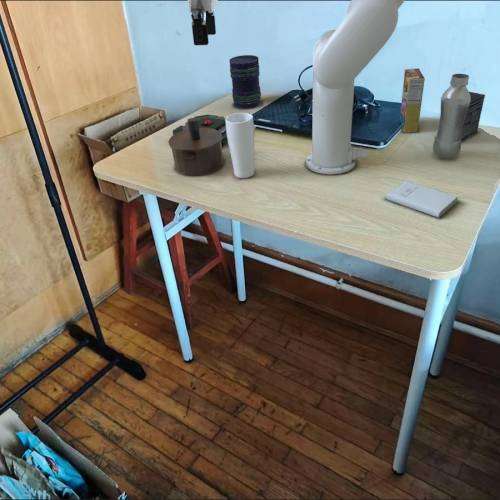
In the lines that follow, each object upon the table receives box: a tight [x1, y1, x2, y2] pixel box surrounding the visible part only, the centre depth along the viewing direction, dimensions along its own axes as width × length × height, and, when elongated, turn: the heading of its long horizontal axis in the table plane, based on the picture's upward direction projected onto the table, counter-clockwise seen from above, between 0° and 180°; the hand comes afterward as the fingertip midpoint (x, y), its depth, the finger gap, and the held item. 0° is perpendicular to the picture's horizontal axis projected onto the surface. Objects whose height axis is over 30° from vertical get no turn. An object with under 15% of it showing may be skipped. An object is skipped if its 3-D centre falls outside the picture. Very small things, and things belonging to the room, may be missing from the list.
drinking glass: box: [225, 112, 256, 179], centre depth 112 cm, size 7×7×15 cm
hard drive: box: [385, 180, 459, 218], centre depth 100 cm, size 2×8×12 cm
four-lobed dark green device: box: [171, 113, 228, 144], centre depth 138 cm, size 18×18×5 cm
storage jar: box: [228, 54, 262, 110], centre depth 154 cm, size 10×10×15 cm
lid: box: [168, 117, 222, 152], centre depth 117 cm, size 14×14×6 cm
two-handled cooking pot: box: [171, 142, 224, 177], centre depth 121 cm, size 13×18×7 cm
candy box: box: [400, 68, 426, 134], centre depth 128 cm, size 9×4×15 cm, turn 172°
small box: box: [437, 91, 486, 142], centre depth 123 cm, size 11×6×10 cm, turn 129°
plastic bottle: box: [432, 73, 471, 160], centre depth 110 cm, size 6×7×20 cm
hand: (205, 39), depth 103 cm, fingers open, 9 cm apart
